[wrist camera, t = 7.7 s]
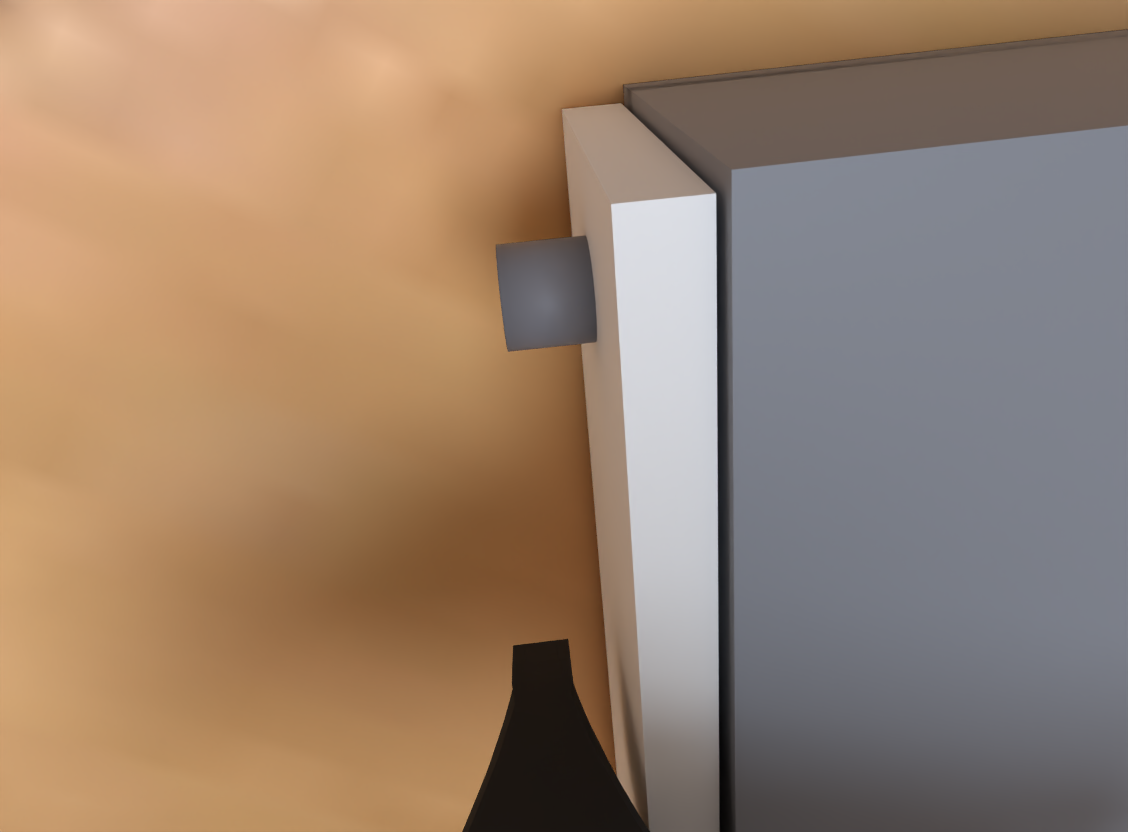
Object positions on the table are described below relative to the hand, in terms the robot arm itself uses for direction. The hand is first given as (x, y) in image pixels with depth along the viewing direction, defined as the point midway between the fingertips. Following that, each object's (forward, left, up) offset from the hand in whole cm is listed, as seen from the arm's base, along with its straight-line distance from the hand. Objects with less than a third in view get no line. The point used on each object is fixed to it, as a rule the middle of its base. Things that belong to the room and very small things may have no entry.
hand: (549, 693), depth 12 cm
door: (+1, +1, -3) cm, 3 cm away
